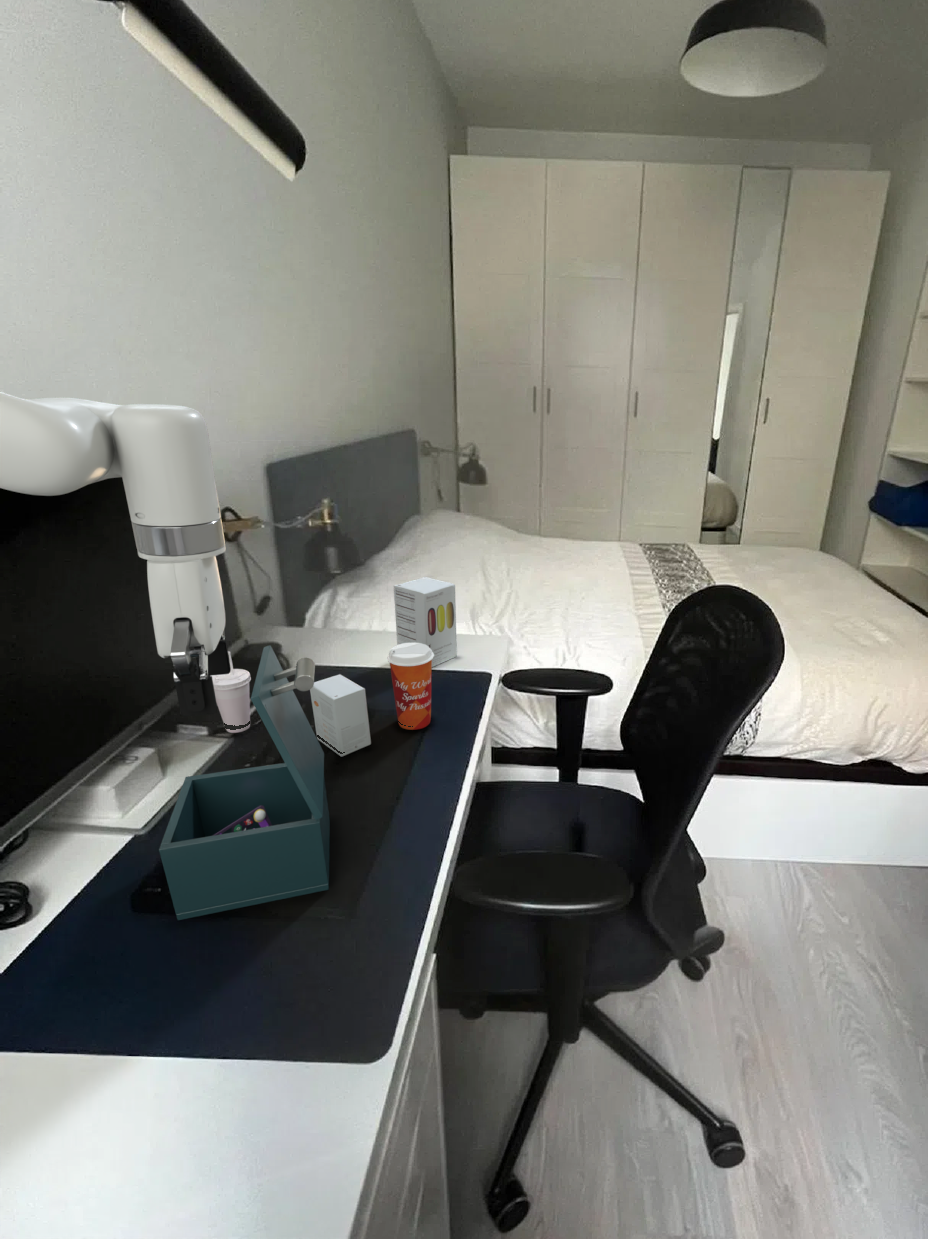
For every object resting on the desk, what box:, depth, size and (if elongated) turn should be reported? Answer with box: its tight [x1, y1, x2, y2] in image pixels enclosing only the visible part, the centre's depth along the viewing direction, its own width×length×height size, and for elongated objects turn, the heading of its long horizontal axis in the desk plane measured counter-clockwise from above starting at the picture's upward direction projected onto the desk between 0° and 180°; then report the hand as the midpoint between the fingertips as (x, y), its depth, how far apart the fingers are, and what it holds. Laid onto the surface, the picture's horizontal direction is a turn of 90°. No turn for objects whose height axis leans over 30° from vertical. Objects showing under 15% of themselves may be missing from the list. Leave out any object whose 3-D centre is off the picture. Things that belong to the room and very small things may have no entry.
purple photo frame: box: [213, 806, 272, 836], centre depth 75 cm, size 7×5×9 cm
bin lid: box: [250, 644, 325, 820], centre depth 74 cm, size 17×14×5 cm
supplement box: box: [393, 576, 458, 668], centre depth 135 cm, size 10×9×17 cm
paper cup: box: [386, 643, 434, 731], centre depth 109 cm, size 8×8×14 cm
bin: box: [158, 762, 331, 921], centre depth 76 cm, size 16×14×10 cm
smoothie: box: [211, 650, 252, 734], centre depth 105 cm, size 6×6×14 cm
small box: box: [309, 673, 372, 757], centre depth 103 cm, size 8×6×10 cm
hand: (208, 692), depth 68 cm, fingers open, 9 cm apart
